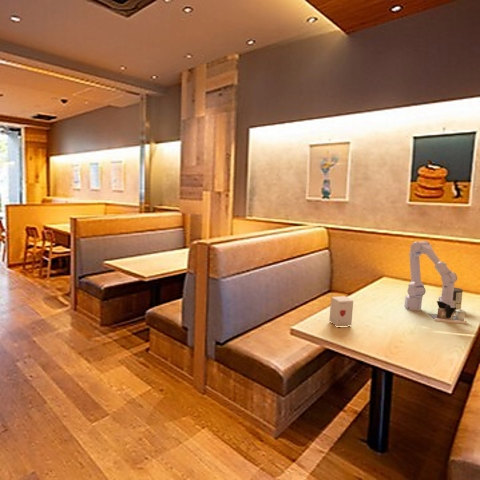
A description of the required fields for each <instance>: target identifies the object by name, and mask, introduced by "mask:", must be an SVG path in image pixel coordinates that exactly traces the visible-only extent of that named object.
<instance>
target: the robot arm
mask: <svg viewBox="0 0 480 480" xmlns="http://www.w3.org/2000/svg"><path fill="white" fill-rule="evenodd" d="M408 254H409V255H408V256H409V268H410V282H409V284H408V288H407V295H406V296H405V297H404V304H403V305H404V308H405V310H409V311H418V312H419V311H422V304H423V302H422V301H423V298H424V295H425V294H426V288H425V284H424V283H423V282H422V279H421V277H422V276H421V265H420V256H421V255H422V254H423V255H426V256H427V257H428V258H429V259H430V261H432V263H433V264H434V268H435V270H436V271H437V273H439V275H440V276H441V277H440V280H441V283H442V290H441V296H438V300H437V301H436V303H437V307H438V308H445V309H446V318H451V316H452V313H453V312H454V310H455V309H456V307H455V304H454V303H453V301H452V300H453V292H454V288H455V283H456V282H457V281H458V276H457V274H456V273H455V272H453V271H452V270H451V269H450V267H448V264H447V263H446V262H444V261H441V260H440V258H439V257H438V256H437V254H436V253H435V251H434V250H433V246H432V245H431V244H430V242H429V241H428V240H427V241H426V240H423V241H414V242H412V243H411V244H410V250H409V253H408ZM446 305H448V306H446ZM454 313H455V312H454Z"/></svg>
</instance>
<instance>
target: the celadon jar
mask: <svg viewBox="0 0 480 480" xmlns="http://www.w3.org/2000/svg"><path fill="white" fill-rule="evenodd" d="M465 315H466V311H465V310H463V309H462V308H461V309H460V310H456V312H455V316H456V317H455V320H459V321H465Z"/></svg>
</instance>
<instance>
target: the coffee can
mask: <svg viewBox="0 0 480 480" xmlns="http://www.w3.org/2000/svg"><path fill="white" fill-rule="evenodd" d="M463 292H464V291H463V289H462V288H458V287H454V292H453V300H452V301H453V303H454V304H455V307H456V309H455V310H454V313H456V310H460V309H461V310H462V302H463V300H462V299H463ZM446 306H448V305H446Z"/></svg>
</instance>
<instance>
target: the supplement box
mask: <svg viewBox="0 0 480 480" xmlns="http://www.w3.org/2000/svg"><path fill="white" fill-rule="evenodd" d="M353 307H354V300H353V299H351V298H349V297H348V296H345V295H342V296H331V297H330V309H329V320H328V322H329V321H331V322H332V323H333V324H335V325H336V326H348V325H351V326H352V322H353V321H352V320H353V309H354V308H353ZM333 324H332V325H333ZM336 326H335V327H336Z"/></svg>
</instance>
